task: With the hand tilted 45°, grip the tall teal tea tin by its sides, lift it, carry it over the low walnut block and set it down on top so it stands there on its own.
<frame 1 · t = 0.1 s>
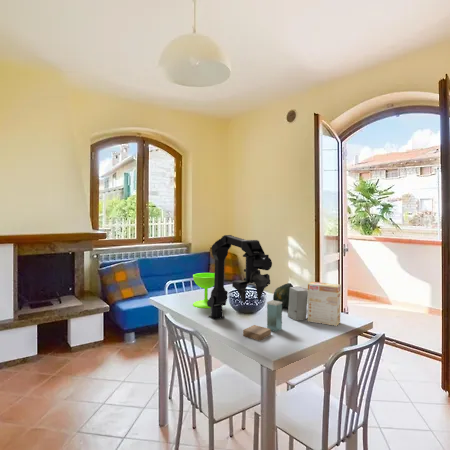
hand: (251, 301, 152), 15 cm above the table, tool pointing down, fingers open, 9 cm apart
coffeecake box: (323, 322, 168), on the table
walnut block: (256, 336, 149), on the table
wineglass: (206, 305, 199), on the table
squash: (285, 307, 196), on the table
tea tin: (274, 329, 157), on the table
skincare box: (297, 318, 174), on the table
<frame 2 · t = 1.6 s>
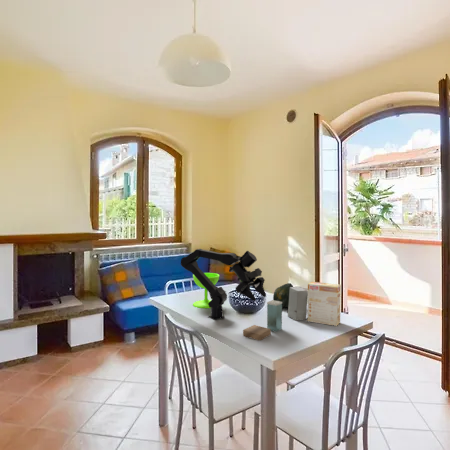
hand: (260, 298, 161), 13 cm above the table, tool tilted 45°, fingers open, 9 cm apart
nothing on the table moved.
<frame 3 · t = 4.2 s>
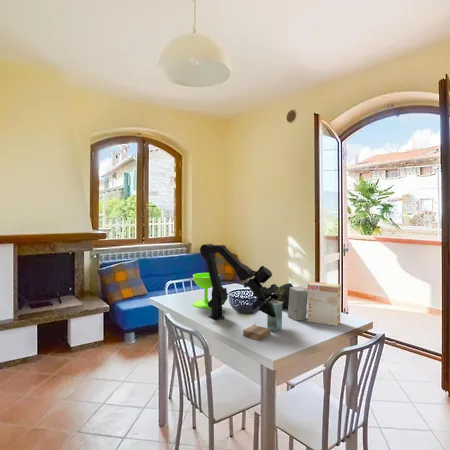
hand: (277, 315, 156), 7 cm above the table, tool tilted 45°, fingers closed on tea tin, 5 cm apart
tea tin: (274, 329, 157), on the table, touching gripper
everything else where it was.
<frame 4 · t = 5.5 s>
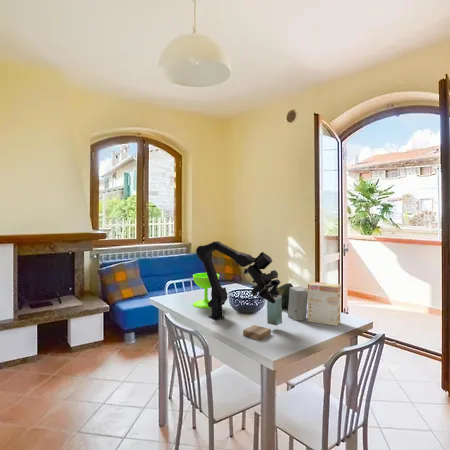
hand: (277, 301, 156), 13 cm above the table, tool tilted 45°, fingers closed on tea tin, 5 cm apart
tea tin: (274, 323, 157), point 3 cm above the table, touching gripper
everything else where it was.
when the fingers open (13 cm above the table, at t = 6.3 s): tea tin stays where it is, resting on walnut block.
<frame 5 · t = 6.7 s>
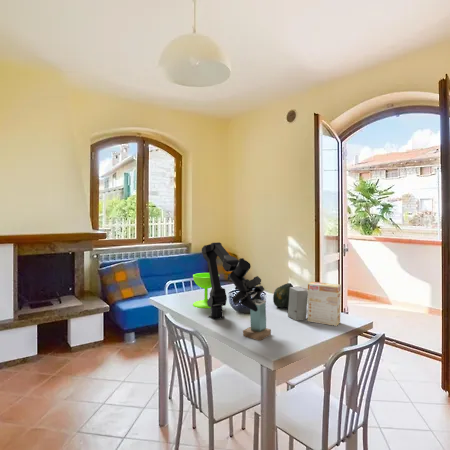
hand: (259, 309, 148), 12 cm above the table, tool tilted 45°, fingers open, 5 cm apart
walnut block: (256, 336, 149), on the table, touching tea tin
tea tin: (258, 329, 149), point 3 cm above the table, touching gripper, walnut block
everything else where it was.
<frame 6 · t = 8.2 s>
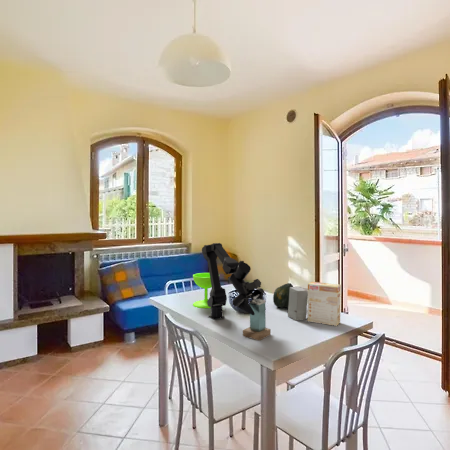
hand: (259, 312, 148), 11 cm above the table, tool tilted 45°, fingers open, 9 cm apart
walnut block: (256, 336, 149), on the table
tea tin: (257, 329, 149), point 3 cm above the table
everything else where it was.
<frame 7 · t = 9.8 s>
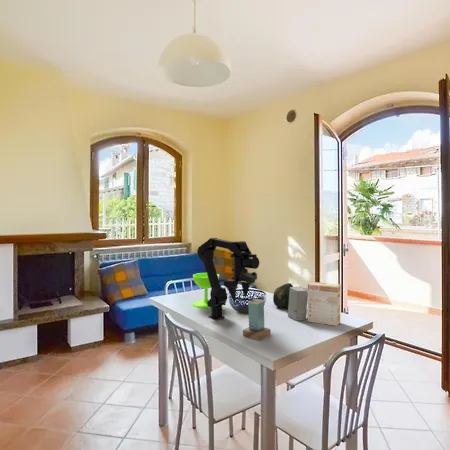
hand: (239, 298, 163), 13 cm above the table, tool pointing down, fingers open, 9 cm apart
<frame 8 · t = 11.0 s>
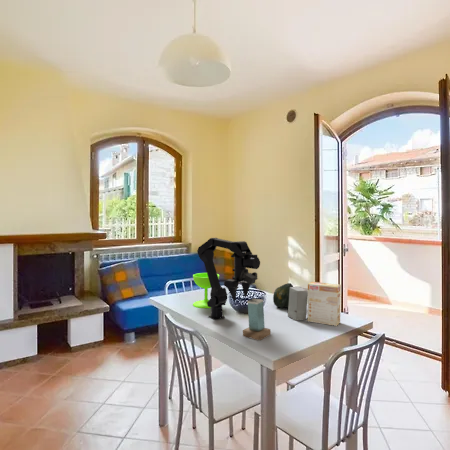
hand: (240, 298, 163), 13 cm above the table, tool pointing down, fingers open, 9 cm apart
walnut block: (256, 336, 149), on the table, touching tea tin
tea tin: (257, 328, 149), point 3 cm above the table, touching walnut block
everything else where it was.
at the end: tea tin inside the target area on the walnut block (0.4 cm from its centre), point 3.1 cm above the walnut block's base; tea tin tilted 2°; the gripper is holding nothing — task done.
